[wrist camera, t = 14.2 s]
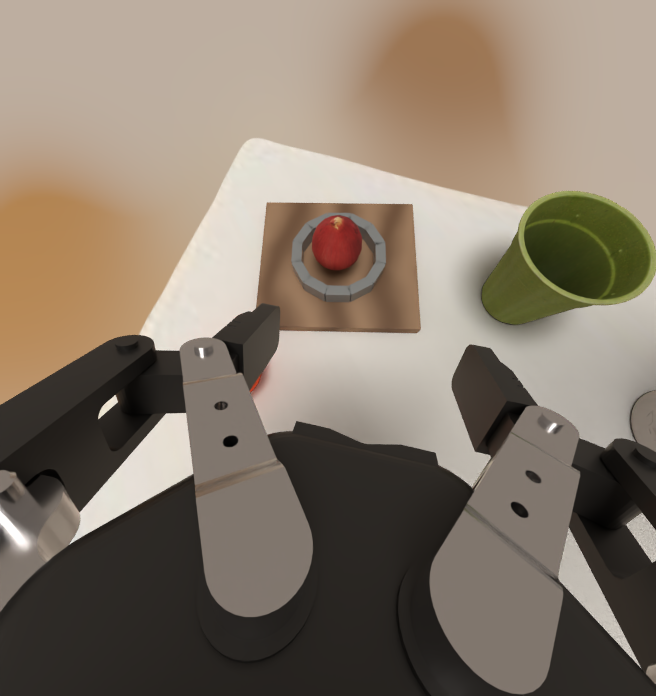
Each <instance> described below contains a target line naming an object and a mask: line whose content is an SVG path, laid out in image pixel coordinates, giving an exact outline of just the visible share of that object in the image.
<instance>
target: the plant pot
mask: <svg viewBox="0 0 656 696" xmlns="http://www.w3.org/2000/svg"><path fill="white" fill-rule="evenodd" d="M655 272H656V250H655V246H654V243H653V241H652V239H651V237H650V235H649V234H648V232H647V230H646V229H645V228H644V227H643V225H642V224H641V222H640V221H639V220H638V219H637V218H636V217H635V216H634V215H633V214H631V213H630V212H629V211H628V210H626V209H625V208H623V207H621V206H619V205H618V204H617V203H614V202H613V201H611V200H609V199H606V198H604V197H602V196H598V195H595V194H591V193H587V192H580V191H562V192H556V193H552V194H549V195H546V196H544V197H542V198H540V199H538V200H537V201H535V202H534V203H533V204H531V205H530V206H529V207H528V209H527V210H526V211H525V213H524V214H523V216H522V218H521V220H520V223H519V227H518V232H517V233H516V235H515V237H514V239H513V241H512V244H511V246H510V247H509V249H508V250H507V251H506V253H505V254H504V256H503V257H502V259H501V260H500V262H499V263H498V265H497V266H496V268H495V269H494V270H493V272H492V273H491V275H490V276H489V278H488V279H487V281H486V282H485V284H484V285H483V288H482V302H483V305H484V307H485V308H486V310H487V311H488V313H489V314H490V315H491V316H493V317H494V318H495V319H497V320H498V321H501V322H504V323H509V324H514V325H518V324H523V323H527V322H530V321H533V320H537V319H540V318H544V317H547V316H550V315H554V314H557V313H561V312H564V311H567V310H571V309H574V308H582V307H588V306H592V305H613V304H619V303H623V302H626V301H629V300H631V299H633V298H635V297H637V296H638V295H640V294H641V293H642V292H643V291H644V290H645V289H646V288H647V287H648V286H649V285H650V283H651V282H652V279H653V277H654V275H655Z"/></svg>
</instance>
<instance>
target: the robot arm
mask: <svg viewBox="0 0 656 696" xmlns="http://www.w3.org/2000/svg"><path fill="white" fill-rule="evenodd" d="M279 330H280V307H279V306H275V305H270V304H265V303H261V304H260V305H259V306H258V307H257V308H256V309H255V310H254V311H253V312H249V311H248V312H245V313H243V314H240V315H238V316H237V317H236V318H234V319H233V320H232V322H230V323H229V324H228V325H227V326H225V327H224V328H223V329H222V330H221V331H219V332H218V333H217V334H216V335H215V336H214V337H212V338H197V339H193V340H190V341H188V342H186V343H184V344H183V345H182V346H181V348H180V351H159V350H155V345H154V342H153V340H152V339H151V338H149V337H146V336H141V335H128V336H122V337H117V338H114V339H112V340H109V341H107V342H106V343H104V344H102V345H100V346H99V347H97V348H95V349H94V350H92V351H90V352H89V353H87V354H85V355H84V356H82V357H80V358H79V359H77V360H75V361H74V362H72V363H70V364H69V365H67V366H65V367H63V368H62V369H60V370H58V371H57V372H55V373H53V374H52V375H50V376H48V377H47V378H45V379H43V380H42V381H40V382H39V383H37V384H35V385H33V386H32V387H30V388H28V389H27V390H25V391H23V392H22V393H20V394H18V395H16V396H15V397H13V398H12V399H10V400H8V401H6V402H5V403H3V404H1V405H0V696H656V561H655V562H653V563H652V562H651V561H650V559H649V558H648V556H647V555H646V553H645V552H644V551H643V549H642V548H641V546H640V545H639V543H638V542H637V540H636V539H635V538H634V536H633V535H632V533H631V532H630V530H629V529H628V527H627V526H626V524H627V523H628V522H629V521H631V520H632V519H634V518H635V517H636V516H638V515H639V514H640V513H643V514H644V515H645V517H646V518H647V519H648V521H649V522H650V523H651V524H652V526H653V527H654V528H655V530H656V391H651V392H648V393H646V394H644V395H643V396H642V397H640V398H639V399H638V401H637V402H636V404H635V405H634V408H633V411H632V417H631V423H632V430H633V433H634V436H635V438H636V440H637V442H638V443H637V442H634V441H631V440H627V439H620V438H619V439H615V440H614V441H613V442H612V443H611V444H610V445H609V446H608V447H607V448H606V449H605V448H603V447H600V446H598V445H595V444H593V443H590V442H588V441H585V440H582V439H580V438H579V432H578V430H577V429H576V428H575V426H574V425H573V424H572V423H571V422H569V421H568V420H567V419H566V418H564V417H563V416H561V415H559V414H558V413H556V412H554V411H552V410H549V409H547V408H544V407H540V406H538V405H537V404H536V402H535V401H534V400H533V398H532V397H531V396H530V394H529V393H528V392H527V390H526V389H525V388H523V385H522V384H521V382H520V381H518V378H517V377H516V375H515V374H514V373H513V371H512V370H510V369H509V368H508V367H507V366H505V365H504V364H503V363H501V362H500V361H499V359H498V358H497V356H496V355H495V354H494V352H493V351H492V350H491V349H490V348H486V347H481V346H476V345H469V346H468V347H467V348H466V350H465V352H464V354H463V356H462V358H461V360H460V362H459V364H458V367H457V369H456V371H455V373H454V375H453V378H452V391H453V393H454V396H455V399H456V401H457V404H458V407H459V410H460V412H461V415H462V418H463V420H464V423H465V426H466V429H467V431H468V434H469V437H470V439H471V442H472V445H473V448H474V450H475V452H479V453H484V454H488V455H491V459H490V460H489V462H488V463H487V465H486V466H485V468H484V469H483V471H482V472H481V474H480V476H479V477H478V479H477V480H476V482H475V483H474V485H473V486H472V487H470V486H469V485H468V484H467V483H466V482H465V481H463V480H462V479H461V478H459V477H458V476H456V475H455V474H453V473H452V472H450V471H449V470H447V469H445V468H443V467H441V466H439V465H438V462H437V457H436V453H434V452H430V451H426V450H421V449H417V448H412V447H408V446H404V445H381V444H363V443H360V442H358V441H356V440H354V439H351V438H349V437H347V436H345V435H343V434H340V433H338V432H336V431H334V430H331V429H329V428H324V427H320V426H316V425H311V424H307V423H302V422H298V421H296V424H295V426H294V429H293V431H286V432H277V433H272V434H269V435H267V434H266V431H265V429H264V426H263V424H262V421H261V419H260V416H259V414H258V411H257V409H256V406H255V404H254V401H253V399H252V396H251V394H250V390H251V388H252V387H253V385H254V384H255V382H256V381H257V379H258V378H259V376H260V375H261V373H262V372H263V370H264V369H265V367H266V366H267V364H268V362H269V361H270V359H271V358H272V356H273V355H274V353H275V352H276V350H277V347H278V342H279ZM114 395H116V397H117V400H118V403H117V404H116V405H114V406H113V407H112V408H111V409H110V410H109V411H108V412H106V413H105V414H104V415H103V416H102V417H101V418H100V419H98V415H99V412H100V410H101V408H102V406H103V405H104V404H105V403H106V402H107V401H108V400H110V399H111V398H112V397H113V396H114ZM166 413H186V414H187V423H188V431H189V439H190V448H191V456H192V464H193V473H194V474H193V475H191V476H189V477H187V478H185V479H184V480H182V481H180V482H178V483H177V484H175V485H173V486H171V487H170V488H168V489H166V490H164V491H162V492H161V493H159V494H157V495H155V496H154V497H152V498H150V499H148V500H147V501H145V502H143V503H141V504H139V505H138V506H136V507H134V508H132V509H131V510H129V511H127V512H125V513H124V514H122V515H120V516H118V517H116V518H115V519H113V520H111V521H109V522H108V523H106V524H104V525H102V526H100V527H99V528H97V529H95V530H93V531H92V532H90V533H88V534H86V535H84V536H83V537H81V538H79V539H78V540H76V541H75V542H73V543H71V544H70V542H71V541H72V539H73V538H74V536H75V534H76V532H77V530H78V528H79V525H80V513H79V512H80V511H81V510H82V509H83V508H84V507H85V506H86V504H87V503H88V502H89V501H90V500H91V499H92V498H93V496H94V495H95V494H96V493H97V492H98V491H99V490H100V488H101V487H102V486H103V485H104V484H105V483H106V482H107V480H108V479H109V478H110V477H111V476H112V475H113V474H114V472H115V471H116V470H117V469H118V468H119V467H120V466H121V464H122V463H123V462H124V461H125V460H126V459H127V457H128V456H129V455H130V454H131V453H132V452H133V451H134V449H135V448H136V447H137V446H138V445H139V444H140V443H141V441H142V440H143V439H144V438H145V437H146V436H147V435H148V433H149V432H150V431H151V430H152V429H153V428H154V427H155V425H156V424H157V423H158V422H159V421H160V420H161V419H162V417H163V416H164V415H165V414H166ZM568 528H570V530H571V532H572V534H573V536H574V538H575V540H576V542H577V544H578V546H579V548H580V550H581V551H582V553H583V555H584V557H585V559H586V561H587V563H588V565H589V567H590V569H591V571H592V573H593V575H594V577H595V579H596V581H597V583H598V585H599V586H600V588H601V590H602V592H603V594H604V596H605V598H606V600H607V602H608V604H609V606H610V608H611V610H612V612H613V614H614V616H615V618H616V620H617V622H618V623H619V625H620V627H621V629H622V631H623V633H624V635H625V637H626V639H627V641H628V643H629V645H630V647H631V649H632V651H633V653H634V655H635V657H636V658H637V660H638V662H639V664H640V666H641V668H642V669H641V668H640V667H639V666H638V665H637V664H636V663H635V662H634V660H633V659H632V658H631V657H630V656H629V655H628V654H627V653H626V652H625V651H624V650H623V649H622V648H621V646H620V645H619V644H618V643H617V642H616V641H615V640H614V639H613V638H612V637H611V636H610V635H609V634H608V633H607V631H606V630H605V629H604V628H603V627H602V626H601V625H600V624H599V623H598V622H597V621H596V620H595V619H594V618H593V616H592V615H591V614H590V613H589V612H588V611H587V610H586V609H585V608H584V607H583V606H582V605H581V604H580V603H579V601H578V600H577V599H576V598H575V597H574V596H573V595H572V594H571V593H570V592H569V591H568V590H567V589H566V587H565V586H564V585H563V584H562V583H561V582H560V581H559V580H558V572H559V568H560V563H561V559H562V554H563V550H564V545H565V541H566V536H567V532H568ZM69 544H70V545H69Z"/></svg>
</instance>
